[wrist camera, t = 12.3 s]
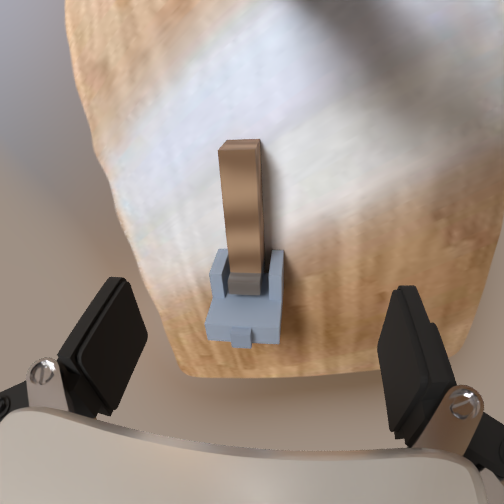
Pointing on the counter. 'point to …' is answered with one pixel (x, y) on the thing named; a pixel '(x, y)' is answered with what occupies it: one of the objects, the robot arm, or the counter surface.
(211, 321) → the grey slotted holder
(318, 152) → the counter surface
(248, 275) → the brown wooden bar
